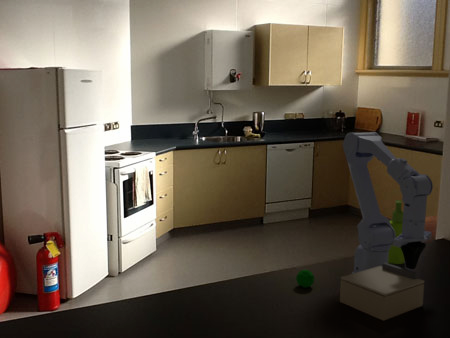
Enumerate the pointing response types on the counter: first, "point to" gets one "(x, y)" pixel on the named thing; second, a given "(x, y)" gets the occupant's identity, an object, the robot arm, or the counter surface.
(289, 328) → the counter surface
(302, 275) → the green ball
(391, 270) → the carton lid
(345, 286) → the carton
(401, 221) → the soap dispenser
